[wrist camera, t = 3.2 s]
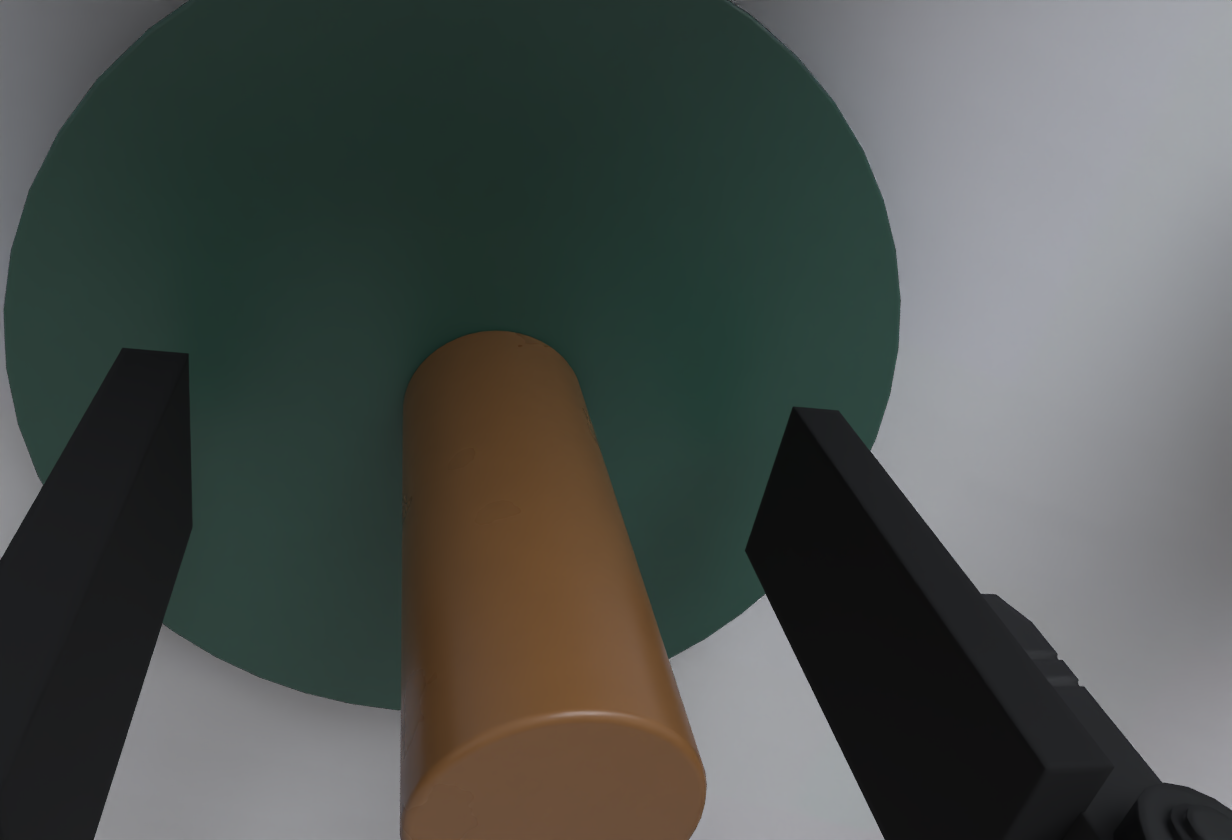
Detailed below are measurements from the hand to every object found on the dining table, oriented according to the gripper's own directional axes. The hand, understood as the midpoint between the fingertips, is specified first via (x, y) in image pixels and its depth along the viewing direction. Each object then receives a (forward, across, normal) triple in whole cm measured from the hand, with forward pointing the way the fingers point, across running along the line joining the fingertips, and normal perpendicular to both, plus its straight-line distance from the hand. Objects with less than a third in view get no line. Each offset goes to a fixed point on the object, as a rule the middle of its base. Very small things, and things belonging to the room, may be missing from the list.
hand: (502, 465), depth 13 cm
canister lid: (+2, 0, 0) cm, 2 cm away
